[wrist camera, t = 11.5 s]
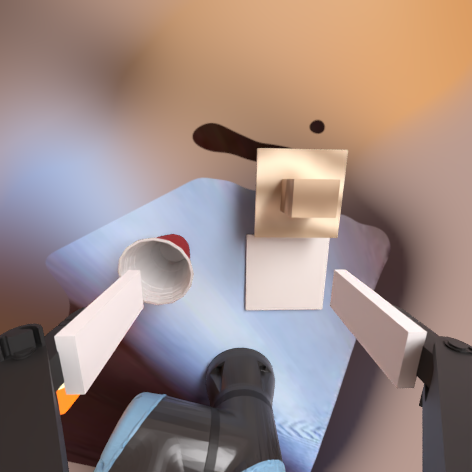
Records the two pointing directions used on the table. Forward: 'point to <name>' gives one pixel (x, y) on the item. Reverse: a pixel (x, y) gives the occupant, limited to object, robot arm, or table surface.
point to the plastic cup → (160, 267)
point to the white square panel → (285, 273)
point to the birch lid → (299, 192)
